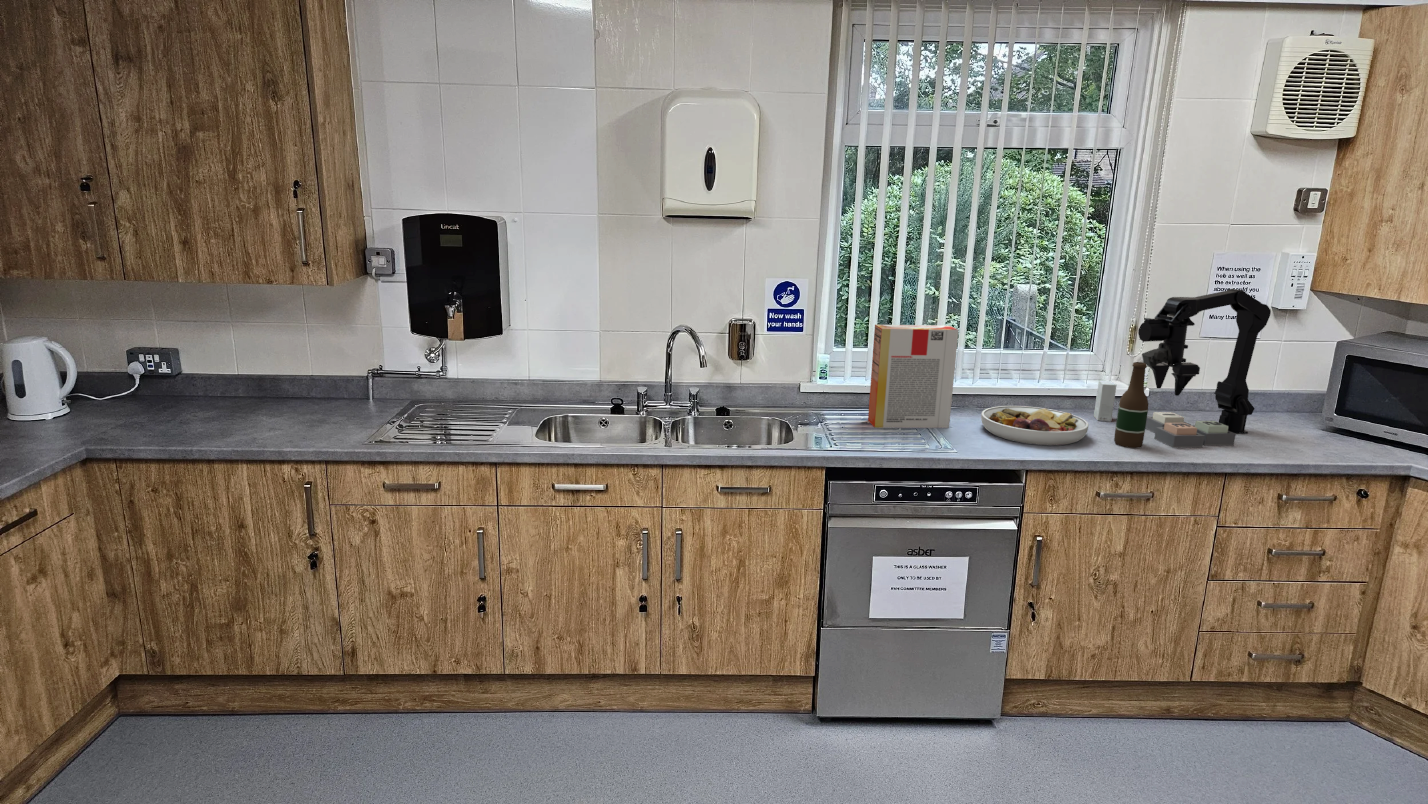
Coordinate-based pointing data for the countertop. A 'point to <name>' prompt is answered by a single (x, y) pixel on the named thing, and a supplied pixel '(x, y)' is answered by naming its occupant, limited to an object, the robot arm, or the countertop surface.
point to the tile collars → (1188, 437)
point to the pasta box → (912, 376)
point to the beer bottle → (1132, 411)
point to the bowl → (1034, 425)
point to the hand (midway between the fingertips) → (1167, 391)
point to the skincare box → (1105, 400)
